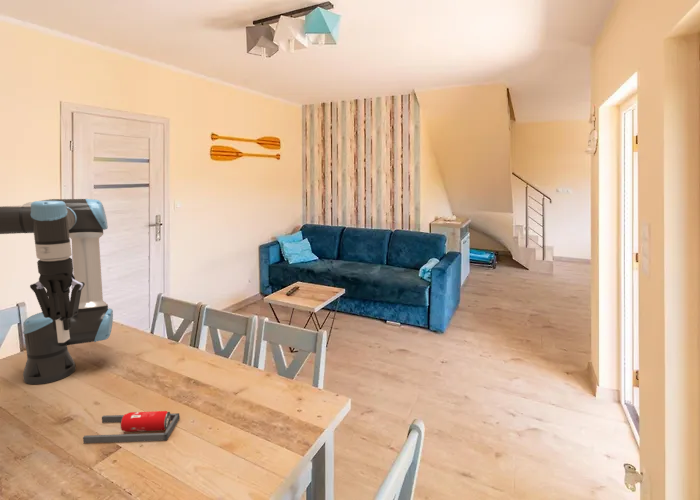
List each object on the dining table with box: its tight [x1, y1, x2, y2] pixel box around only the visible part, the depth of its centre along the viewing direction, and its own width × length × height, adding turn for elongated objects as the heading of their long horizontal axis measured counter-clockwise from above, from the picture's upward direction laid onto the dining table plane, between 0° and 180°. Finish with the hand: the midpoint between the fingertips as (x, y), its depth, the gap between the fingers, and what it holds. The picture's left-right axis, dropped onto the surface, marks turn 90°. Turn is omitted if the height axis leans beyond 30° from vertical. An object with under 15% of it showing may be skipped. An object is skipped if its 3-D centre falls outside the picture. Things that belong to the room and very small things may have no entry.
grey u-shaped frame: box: [82, 413, 180, 444], centre depth 110 cm, size 22×10×2 cm, turn 95°
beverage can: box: [120, 410, 172, 433], centre depth 111 cm, size 5×5×12 cm
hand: (64, 340), depth 107 cm, fingers closed
